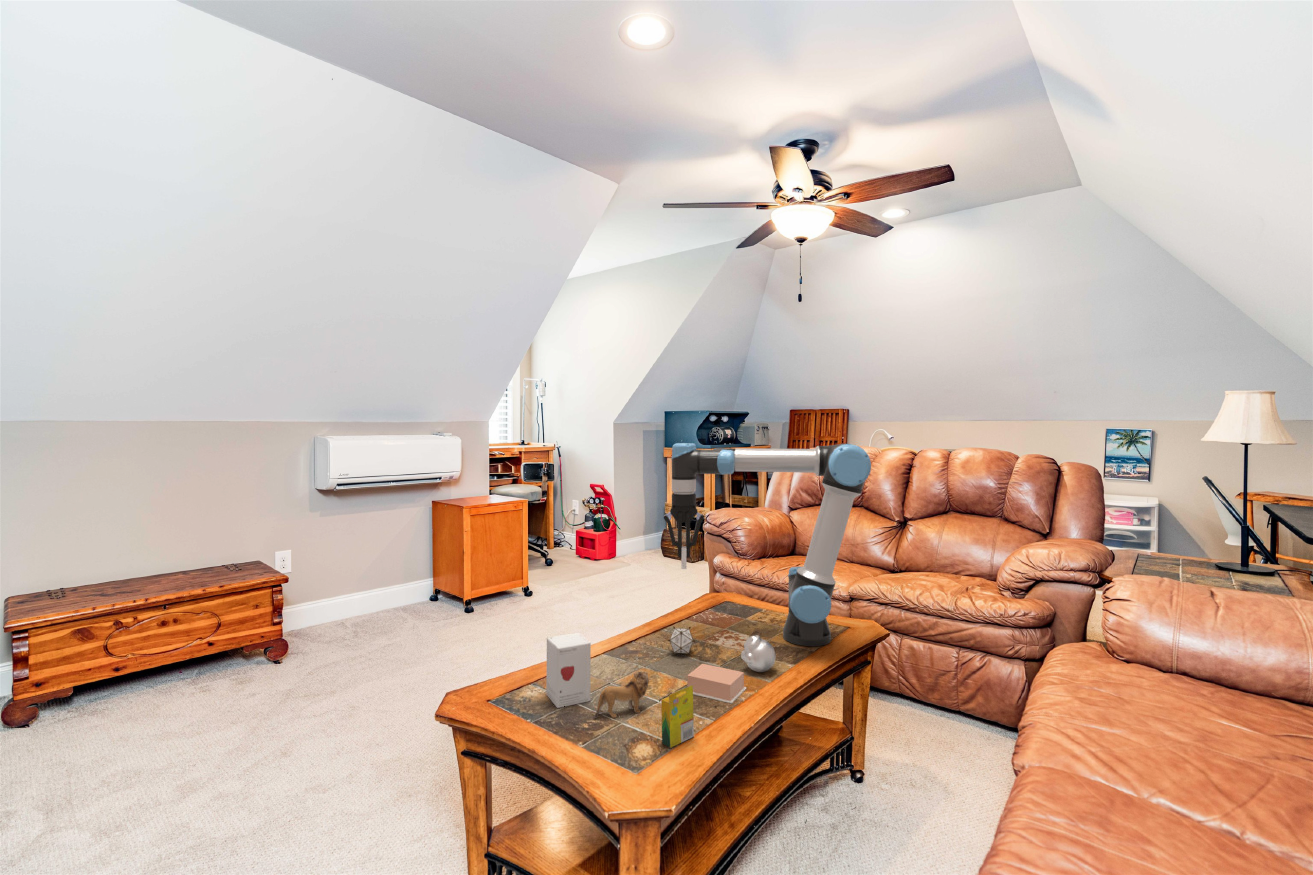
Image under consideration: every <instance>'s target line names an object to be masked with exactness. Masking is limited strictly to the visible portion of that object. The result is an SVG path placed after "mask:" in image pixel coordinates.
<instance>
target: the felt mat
mask: <svg viewBox="0 0 1313 875" xmlns="http://www.w3.org/2000/svg"><path fill="white" fill-rule="evenodd" d="M745 691H747V687H746V686H744V688H743V689H742V690H741V691H740V692H739V693H738V694H737V695H736V696H735V697H734V698H733V699H732V700H731V701H729V700H724V699H720V698H716V697H712V696H708V695H703V694H699V693H695V692H693V696H694V695H695V696H699V697H703V698H707V699H711V700H716V701H719V702H723V703H728V704H733V703H734V702H735V701H736V700H737V699H738V698H739V697H740V696H741V695H742V694H743V693H744V692H745Z"/></svg>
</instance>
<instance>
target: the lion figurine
mask: <svg viewBox="0 0 1313 875" xmlns="http://www.w3.org/2000/svg"><path fill="white" fill-rule="evenodd" d="M648 674H649V672H648V671H646V670H642V669H640V670H639V669H638V670H637V671H636V672H634V673H633V677H632V678H631V679H630V681H629V682H628V683H627V684H625V685H620V686H614V685H610V686H606V687H605V688H604V689H603V690H602V691H601V693H600V696H599V697H598V703H597V710H596V713H595V715H594V716H593V718H597V717H598V715H602V714H604V710H601V709H602V707H603V706H605V704H607V706H608V708H607V713H608V714H609V715H610V717H611V718H613V719H614V718H617V717H618V716H617V715H618V714H616V713H614V712H613V708H614V706H615V701H617V702H620V703H625V702H628V709H629V710H633V711H634V712H635V714H640V713H641V709H639V704H640V699H641V698H644V696H645V695H646V693H647V690H648V688H649V682H650V677H649V675H648Z"/></svg>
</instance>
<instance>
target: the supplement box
mask: <svg viewBox="0 0 1313 875" xmlns="http://www.w3.org/2000/svg"><path fill="white" fill-rule="evenodd" d="M591 652H592V651H591V642H590V641H589V640H588V639H587V638H585V637H584V636H583V635H582V634H581V633H579V632H575V633H568V634H560V635H555V636H550V637H547V638H546V689H545V690H546V693H545V694H546V696H547V698H549V699H550V701H551V702H552V704H554V706H555V707H556V708H557V709H559V708H564V706H565V707H569V706H573V705H574V706H575V705H578V704H582V703H583V704H584V703H588V702H590V701H591V657H592V656H591Z"/></svg>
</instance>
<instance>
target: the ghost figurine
mask: <svg viewBox="0 0 1313 875" xmlns="http://www.w3.org/2000/svg"><path fill="white" fill-rule="evenodd" d="M760 636H761V635H757V634H756V635H751V636H750V637H748V638H747V639H746V640H745V642H744V644H743V648H744V649H743V650H742V651H741V653H740V657H741V659H742V660H743V661H744V662H745V663H746V664H747V667H748V668H749V669H750V670H752V671H754V672H757V673H764V672H767V671H769V670H770V669H772V667H773V666H774V665H775V662H776V652H775V651H776V650H775V648H774V647H773V645H772V644H771V643H770V642H769V641H767V640H765V639H762V638H761V637H760Z"/></svg>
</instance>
